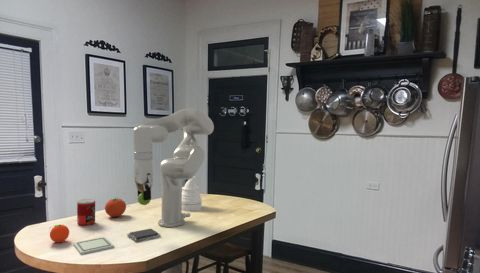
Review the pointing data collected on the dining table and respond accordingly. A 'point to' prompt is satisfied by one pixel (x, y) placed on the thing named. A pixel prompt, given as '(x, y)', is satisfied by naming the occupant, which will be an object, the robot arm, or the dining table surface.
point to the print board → (93, 245)
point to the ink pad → (143, 235)
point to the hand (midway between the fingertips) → (144, 197)
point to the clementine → (59, 233)
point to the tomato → (115, 207)
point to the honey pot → (191, 196)
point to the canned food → (86, 212)
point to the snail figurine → (140, 197)
